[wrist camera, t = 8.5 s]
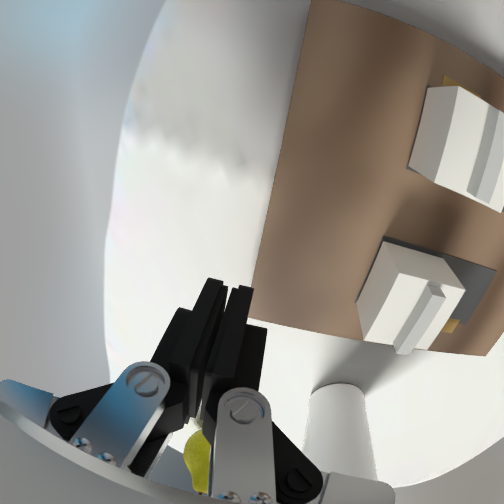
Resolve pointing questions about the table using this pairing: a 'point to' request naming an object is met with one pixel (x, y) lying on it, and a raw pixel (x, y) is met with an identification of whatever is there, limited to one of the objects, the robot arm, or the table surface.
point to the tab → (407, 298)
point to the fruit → (198, 460)
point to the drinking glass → (339, 432)
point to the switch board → (372, 181)
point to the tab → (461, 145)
